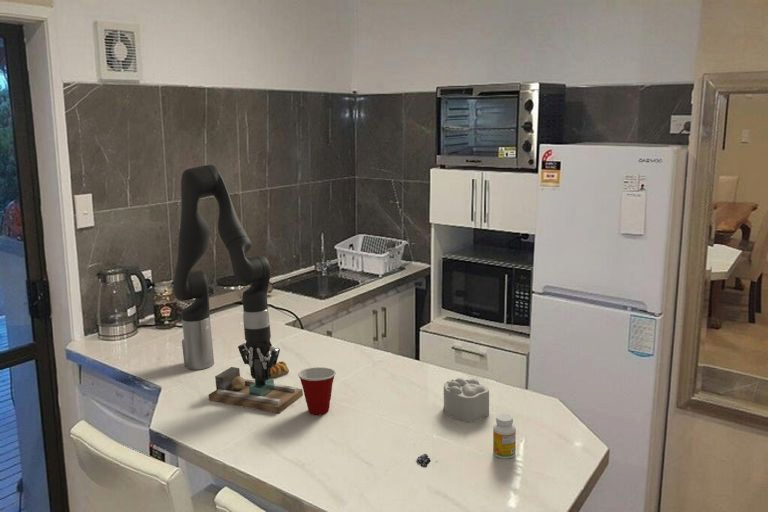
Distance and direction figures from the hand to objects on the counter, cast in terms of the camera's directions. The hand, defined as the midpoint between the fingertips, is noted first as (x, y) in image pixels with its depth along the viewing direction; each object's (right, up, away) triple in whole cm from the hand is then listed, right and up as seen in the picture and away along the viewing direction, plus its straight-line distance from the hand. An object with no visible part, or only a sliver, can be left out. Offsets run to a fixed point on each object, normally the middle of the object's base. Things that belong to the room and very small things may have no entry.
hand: (261, 378), depth 190 cm
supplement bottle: (+66, -12, -34) cm, 76 cm away
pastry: (+1, -3, +20) cm, 20 cm away
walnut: (-8, -2, +4) cm, 9 cm away
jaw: (0, -4, +1) cm, 4 cm away
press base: (-2, -6, +2) cm, 7 cm away
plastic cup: (+18, -8, -8) cm, 21 cm away
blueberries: (+47, -14, -36) cm, 61 cm away
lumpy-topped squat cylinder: (+60, -7, -11) cm, 61 cm away
